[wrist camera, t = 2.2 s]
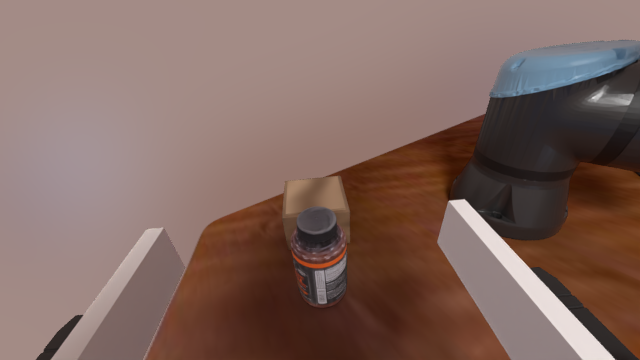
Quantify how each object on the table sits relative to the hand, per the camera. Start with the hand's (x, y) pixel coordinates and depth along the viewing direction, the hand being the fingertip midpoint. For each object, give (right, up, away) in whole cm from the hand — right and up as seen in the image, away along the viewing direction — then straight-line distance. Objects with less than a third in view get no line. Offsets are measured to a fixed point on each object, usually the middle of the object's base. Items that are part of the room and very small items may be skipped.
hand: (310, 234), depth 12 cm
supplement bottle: (+1, -11, +19) cm, 22 cm away
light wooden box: (0, -5, +28) cm, 28 cm away
